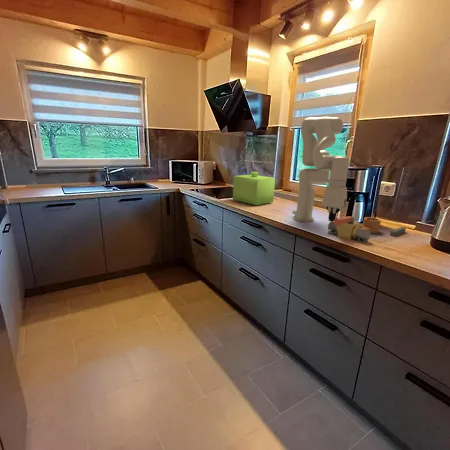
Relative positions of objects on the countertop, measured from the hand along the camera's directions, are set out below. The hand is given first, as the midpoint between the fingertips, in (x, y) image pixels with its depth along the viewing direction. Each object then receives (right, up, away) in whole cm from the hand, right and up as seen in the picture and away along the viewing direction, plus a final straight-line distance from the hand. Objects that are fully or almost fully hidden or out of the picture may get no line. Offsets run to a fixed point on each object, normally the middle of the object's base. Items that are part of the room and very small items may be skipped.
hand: (331, 220), depth 134 cm
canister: (-30, +17, +88) cm, 94 cm away
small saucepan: (+24, -6, +17) cm, 30 cm away
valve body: (+10, -8, +6) cm, 14 cm away
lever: (+6, -1, 0) cm, 6 cm away
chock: (+41, -7, +14) cm, 44 cm away
